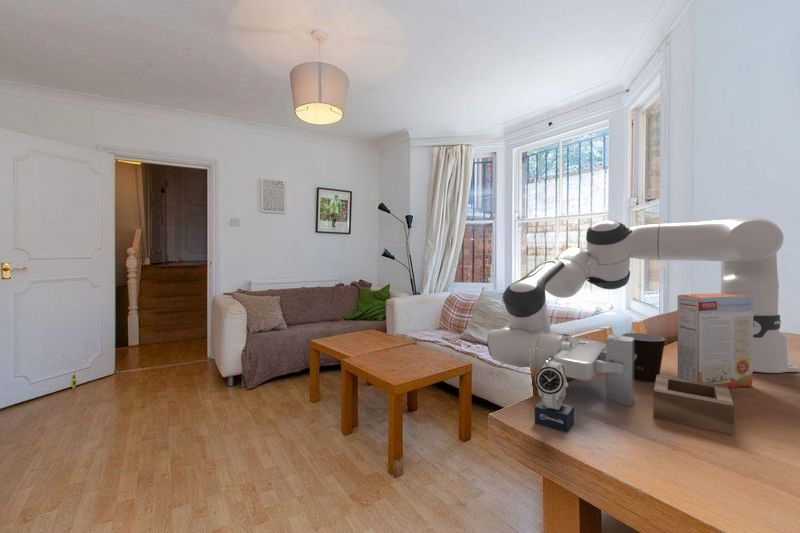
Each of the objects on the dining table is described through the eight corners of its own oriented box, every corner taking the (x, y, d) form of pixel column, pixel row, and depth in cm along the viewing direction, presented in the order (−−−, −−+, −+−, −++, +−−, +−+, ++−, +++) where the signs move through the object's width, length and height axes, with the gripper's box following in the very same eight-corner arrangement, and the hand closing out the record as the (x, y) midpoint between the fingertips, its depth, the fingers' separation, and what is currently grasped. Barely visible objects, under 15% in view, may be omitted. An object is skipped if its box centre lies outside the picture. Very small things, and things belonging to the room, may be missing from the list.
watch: (530, 427, 64) (531, 366, 63) (545, 411, 70) (545, 355, 69) (564, 437, 60) (564, 372, 60) (576, 419, 66) (577, 361, 66)
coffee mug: (671, 384, 83) (672, 341, 82) (630, 382, 85) (631, 340, 84) (647, 368, 94) (648, 331, 94) (611, 366, 96) (612, 329, 96)
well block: (656, 397, 75) (656, 374, 75) (726, 411, 69) (727, 386, 68) (653, 417, 67) (653, 390, 67) (733, 435, 60) (734, 405, 60)
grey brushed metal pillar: (609, 393, 78) (609, 334, 77) (633, 398, 75) (634, 337, 75) (605, 400, 74) (606, 338, 74) (631, 406, 72) (632, 341, 71)
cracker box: (726, 377, 87) (728, 292, 86) (753, 387, 81) (756, 294, 80) (674, 380, 85) (676, 293, 84) (698, 390, 79) (700, 296, 78)
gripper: (541, 350, 74) (618, 362, 66) (565, 332, 90) (630, 340, 82) (541, 380, 74) (618, 395, 66) (565, 357, 91) (630, 367, 82)
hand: (625, 364), depth 74 cm, fingers closed on grey brushed metal pillar, 4 cm apart
